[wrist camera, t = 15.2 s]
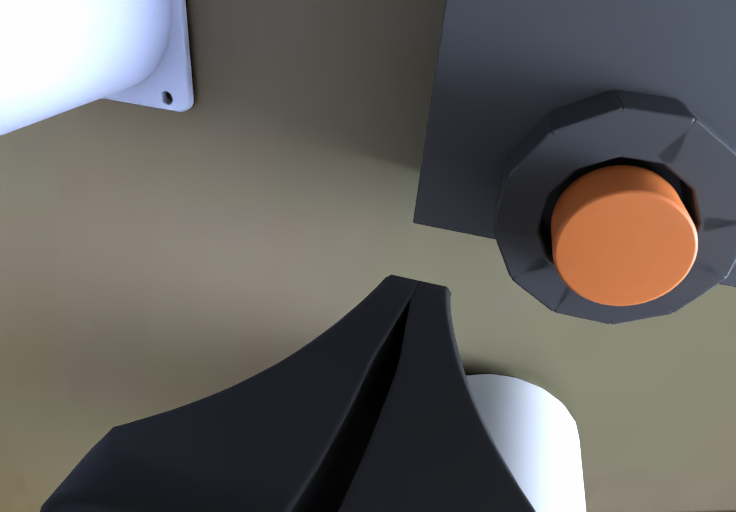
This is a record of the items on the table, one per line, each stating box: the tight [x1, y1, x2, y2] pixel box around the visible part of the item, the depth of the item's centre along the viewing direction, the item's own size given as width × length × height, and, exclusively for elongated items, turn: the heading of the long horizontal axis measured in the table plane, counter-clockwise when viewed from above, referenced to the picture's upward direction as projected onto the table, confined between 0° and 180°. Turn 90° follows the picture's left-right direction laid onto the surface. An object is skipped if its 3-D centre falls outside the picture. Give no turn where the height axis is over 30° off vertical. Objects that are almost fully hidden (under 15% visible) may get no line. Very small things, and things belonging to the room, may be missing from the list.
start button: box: [551, 165, 698, 306], centre depth 14 cm, size 3×3×2 cm
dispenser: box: [413, 0, 736, 324], centre depth 16 cm, size 11×9×6 cm
